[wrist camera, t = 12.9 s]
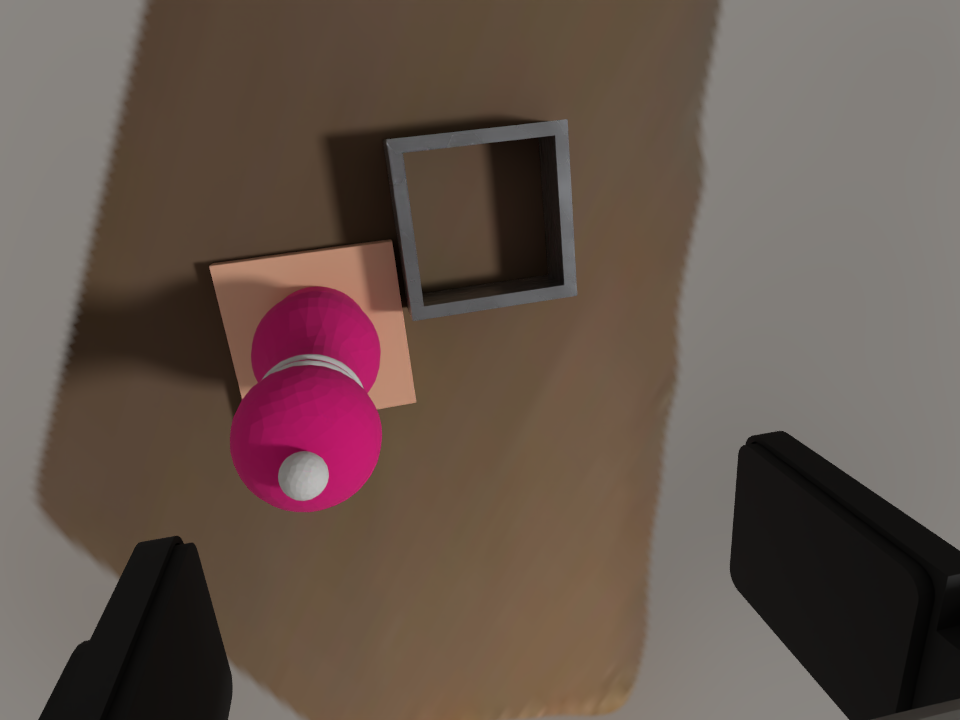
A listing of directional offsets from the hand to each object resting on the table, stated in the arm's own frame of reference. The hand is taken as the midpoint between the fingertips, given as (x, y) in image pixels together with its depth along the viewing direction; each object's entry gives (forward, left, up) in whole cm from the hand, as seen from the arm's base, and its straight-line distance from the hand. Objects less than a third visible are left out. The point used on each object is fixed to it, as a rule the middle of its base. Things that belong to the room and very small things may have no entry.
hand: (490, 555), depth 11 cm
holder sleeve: (-1, +6, -33) cm, 33 cm away
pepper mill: (+4, -5, -32) cm, 33 cm away
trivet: (+5, -5, -33) cm, 33 cm away
